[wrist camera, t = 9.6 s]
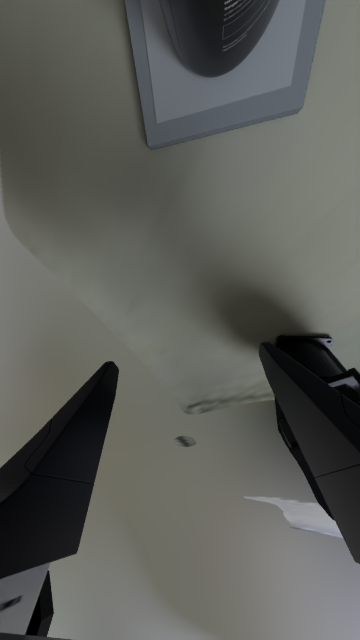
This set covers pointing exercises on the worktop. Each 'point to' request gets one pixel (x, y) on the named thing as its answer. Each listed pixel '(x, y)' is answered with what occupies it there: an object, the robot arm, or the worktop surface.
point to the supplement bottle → (216, 31)
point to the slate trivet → (229, 89)
